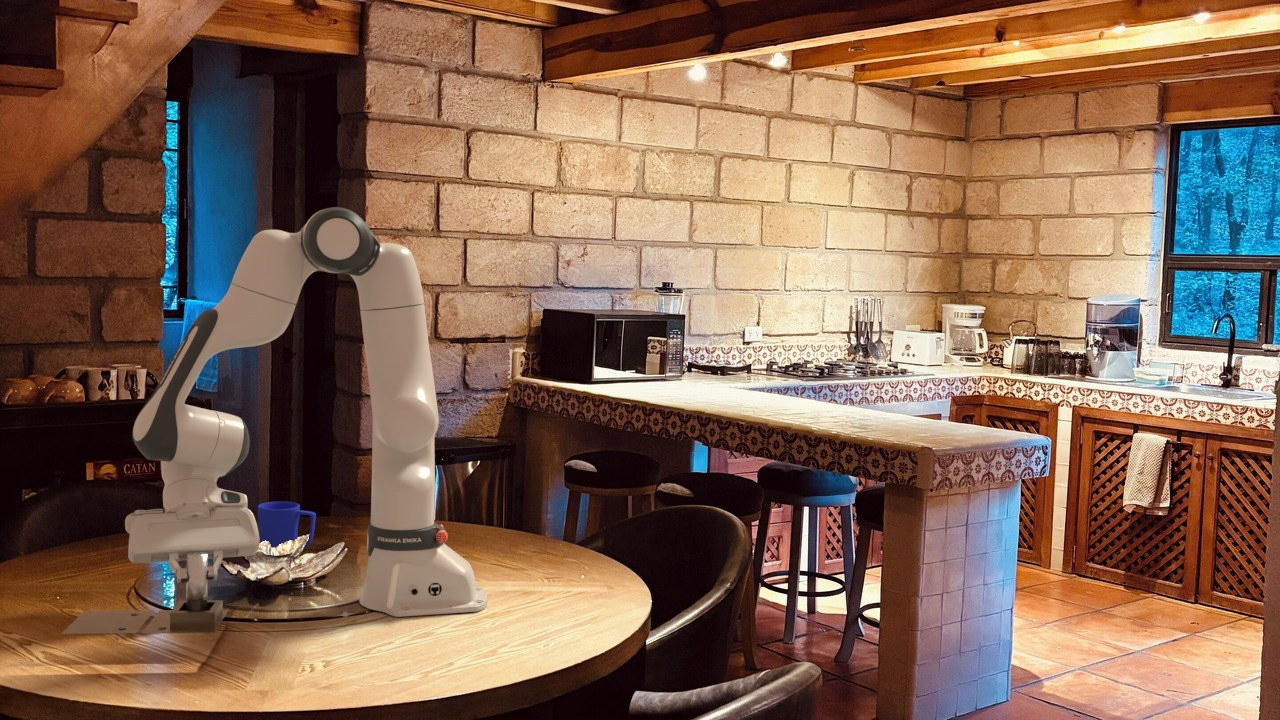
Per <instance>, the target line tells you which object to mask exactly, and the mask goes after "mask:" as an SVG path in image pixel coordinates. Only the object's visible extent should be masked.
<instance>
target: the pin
mask: <svg viewBox="0 0 1280 720" xmlns="http://www.w3.org/2000/svg"><path fill="white" fill-rule="evenodd" d="M208 562H209V559H208V553H206V552H192V553H188V554H187V560H186V568H187V582H185V584H186V587H185V588H186V590H185V591H186V593H185V594H186V596H185V597H186V599H185V601H186V611H207V600H208V586H209V585H208V584H209V583H208V567H209V566H208V565H209V563H208Z"/></svg>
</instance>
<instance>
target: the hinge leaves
mask: <svg viewBox="0 0 1280 720" xmlns="http://www.w3.org/2000/svg"><path fill="white" fill-rule="evenodd" d="M223 603H224V602H223V600H222V599H219V600H218V599H216V600H213V599H211V600H210V599H209V600H208V599H207V611H186V600H178V602H177V603H176V605H175V606H174V607H173V608H172V609H170V610H169V609H168V610H167V609H166V610H164V609H163V610H161V609H160V610H158V612H157V613H156V614H155V615H154V617H153V618H152V620H150V621H149V623H148V624H147V625H146V627H144V629H143V630H142V631H141V634H187V633H188V634H205V633H208V634H209V633H211V634H212V633H216V632H217V629H218V628H219V627H220V625H221V623H222V622H223V620H224V618H225V617H226V615H227V614H228V612H229V609H224V608H223V607H224V606H223ZM154 612H155V610H153V609H152V610H145V609H144V610H143V609H142V610H84V611H82V613H80V614H79V615H78V616H77V618H75V620H73V622H71V623H70V625H68V626H67V627H66V628H65V629H64V630H63V631H62V632H61V633H60V635H95V634H96V635H104V634H105V635H107V634H108V635H110V634H111V635H112V634H114V635H115V634H120V635H121V634H124V635H125V634H137V633H138V632H139V630H140V629H141V628H142V626H144V624H145V623H146V622H147V621H148V619H149V618H150V617H151V616H152V615H153V614H154Z"/></svg>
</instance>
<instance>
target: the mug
mask: <svg viewBox="0 0 1280 720" xmlns="http://www.w3.org/2000/svg"><path fill="white" fill-rule="evenodd" d="M300 508H301V506H300V504H299V503H297V502H292V501H269V502H263V503H260V504H259V505H257V517H258V532H259V539H260V542H259V544H260V543H261V542H262V541H265V540H266V541H269V542H270V544H271V546H272V547H276V546H278V545H279V544H281V543H284V542H286V541H289V540H295V539H297V540H298V534H299V533H298V529H299V521H300V517H301V516H304V515H306V516H310V524H309V525H310V526H309V534H308V537H309V540H308V539H307V540H308V541H306V542H307V543H306V542H305V544H306V545H305V547H304V548H303V549H306V548H308V547H309V546H310V545H311V544H312V541H313V539H314V538H313V537H314V533H315V529H316V527H315V525H316V518H317V514H316V512H314V511H309V510H302V509H301V510H300Z"/></svg>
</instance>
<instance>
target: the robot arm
mask: <svg viewBox="0 0 1280 720" xmlns="http://www.w3.org/2000/svg"><path fill="white" fill-rule="evenodd" d="M418 269H419V268H418V267H417V263H416V261H415V256H414V255H413V253H412V251H411V250H410V249H409V248H408V247H405V246H404V245H402V244H399V243H395V242H394V243H393V242H380V241H379V240H378V239H377V237H376V235H375V234H374V233H373V232H372V230H371V229H370V227H369V226H368V225H367V223H366V222H365V221H364V220H363V218H361V216H359V214H357V213H356V212H354V211H352V209H351V210H350V209H348V208H344V207H338V206H335V207H327V208H324V209H321V210H319V211H317V212H315V213H314V214H313V215H311V217H310V218H309V219H308V220H307V222H306V223H305V224H304V225H303V226H302V227H300V228H299V229H298V230H297V231H296V232H288V231H284V230H281V229H264V230H261V231H260V232H258V233H256V234H255V235H254V236H253V237H252V238H251V241H250V243H248V246H247V247H246V250H245V251H244V252H243V255H242V256H241V259H240V261H239V262H238V266H237V267H236V270H235V272H234V275H233V277H232V280H231V283H230V286H229V288H228V291H226V292H227V293H226V294H225V295H224V297H223V298H222V299H221V300H220V301H219V302H218V304H217V305H215V306H214V307H213V308H211V309H207V310H204V311H202V312H201V313H200V314H199V315H198V316H197V317H196V318H195V320H194V322H193V323H192V325H191V326H190V327H189V329H188V331H187V332H186V334H185V336H184V338H183V339H182V341H181V343H180V344H179V346H178V348H177V350H176V351H175V354H174V355H173V357H172V359H171V361H170V363H169V364H168V366H167V368H166V370H165V372H164V373H163V375H162V377H161V379H160V380H159V382H158V384H157V386H156V387H155V389H154V391H153V392H152V394H151V395H150V397H149V399H148V400H147V401H146V402H145V404H144V405H143V407H142V408H141V409H140V411H139V412H138V415H137V417H136V419H135V421H134V423H133V427H132V432H131V433H132V434H131V435H132V441H133V442H134V444H135V446H136V447H137V449H138V451H139V452H140V453H141V454H142V456H144V458H146V459H147V460H149V461H159V462H160V471H161V472H160V473H161V477H162V480H163V482H164V487H163V490H162V503H163V504H162V505H163V508H153V509H146V510H145V509H137V510H134V512H131V513H129V514H128V515H127V516H126V517H125V520H124V527H125V528H124V529H125V531H126V533H128V534H129V538H128V551H127V552H128V553H127V554H128V555H127V556H128V559H129V561H130V562H131V563H133V564H148V563H149V564H150V563H151V564H152V563H166V562H168V568H170V570H171V571H172V572H173V573H174V574H175V575H176V583H177V584H181V583H187V567H185V568H182V567H181V566H180V564H179V561H181V562H182V561H187V554H188V553H192V552H206V553H208V560H209V559H212V563H213V565H211V566H208V581H217V580H218V570H219V568H220V567H221V564H223V559H224V558H235V557H250V556H251V557H252V556H254V555H255V554H256V553H257V552H258V550H259V548H260V547H259V546H260V535H259V527H258V523H257V521H256V517H255V515H254V513H253V512H252V511H251V509H249V508H248V505H249V504H248V497H247V495H246V494H245V493H242V492H237V491H233V490H227V489H223V488H222V487H221V488H220V487H218V485H217V481H218V479H219V478H220V477H221V478H223V477H225V476H227V475H228V474H230V473H231V472H232V471H234V470H235V469H236V468H238V467H239V466H240V465H241V464H243V462H244V461H245V460H246V459H247V457H248V455H249V450H250V442H251V441H250V440H251V439H250V433H249V429H248V427H247V424H246V423H245V421H244V419H243V418H241V417H240V416H238V415H234V414H231V413H227V412H222V411H218V410H212V409H211V410H210V409H207V408H203V407H202V408H201V407H199V406H194V405H189V404H186V403H185V402H186V400H187V398H188V396H189V394H190V392H191V391H192V388H193V387H194V385H195V383H196V382H197V380H198V378H199V376H200V374H201V372H202V370H203V369H204V368H205V367H204V366H205V365H206V363H207V362H208V361H209V360H210V359H211V358H212V357H213V356H215V355H217V354H218V353H221V352H224V351H227V350H232V349H239V348H249V347H250V348H251V347H257V346H260V345H261V346H262V345H265V344H268V343H270V342H272V341H274V340H276V339H277V338H279V337H281V336H282V335H283V334H284V333H285V331H286V329H287V328H288V326H289V325H290V323H291V320H292V318H293V315H294V312H295V309H296V306H297V304H298V300H299V297H300V294H301V290H302V288H303V286H304V284H305V283H306V281H307V279H308V277H309V276H310V275H311V274H313V273H315V272H325V273H331V274H346V275H349V276H350V277H351V278H352V279H353V281H354V283H355V285H356V289H357V293H358V301H359V308H360V309H359V311H360V319H361V326H362V335H363V342H364V343H363V344H364V353H365V360H366V370H367V377H368V386H369V395H370V403H371V411H372V412H371V413H372V441H371V443H372V446H371V447H372V448H371V449H372V450H371V451H372V452H371V453H372V455H371V498H370V500H371V501H370V503H371V504H370V505H371V506H370V522H369V524H368V528H367V531H366V532H367V536H366V538H367V539H366V551H367V555H368V560H367V561H368V562H367V568H366V575H365V578H364V585H363V587H362V588H363V589H362V592H361V595H360V598H359V604H360V605H361V606H363V607H365V608H367V609H369V610H373V611H377V612H383V613H386V614H387V615H388V616H392V617H396V618H397V617H398V618H399V617H414V616H429V615H444V614H446V615H447V614H457V613H475V612H480V611H482V610H483V609H485V607H486V606H487V605H488V594H487V591H486V590H485V589H484V588H482V587H480V586H477V583H476V578H475V573H474V570H473V568H472V565H471V563H470V562H469V561H468V560H466V559H465V558H463V556H462V555H460V554H458V553H457V552H456V551H454V550H453V549H452V548H451V547H450V546H448V545H447V544H446V542H447V541H448V535H449V534H448V532H447V531H446V528H445V527H444V525H443V524H442V523H441V524H438V523H437V522H435V496H436V493H435V492H436V473H435V472H436V471H435V469H436V468H435V467H436V466H435V465H436V461H435V459H436V458H435V457H436V454H435V448H436V447H435V436H436V434H437V432H438V429H439V423H440V416H439V408H438V401H437V399H438V398H437V393H436V387H435V379H434V378H435V377H434V370H433V363H432V358H431V351H430V343H429V333H428V326H427V325H428V323H427V317H426V316H427V315H426V307H425V298H424V292H423V288H422V287H423V286H422V282H421V278H420V273H419V270H418Z"/></svg>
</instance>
